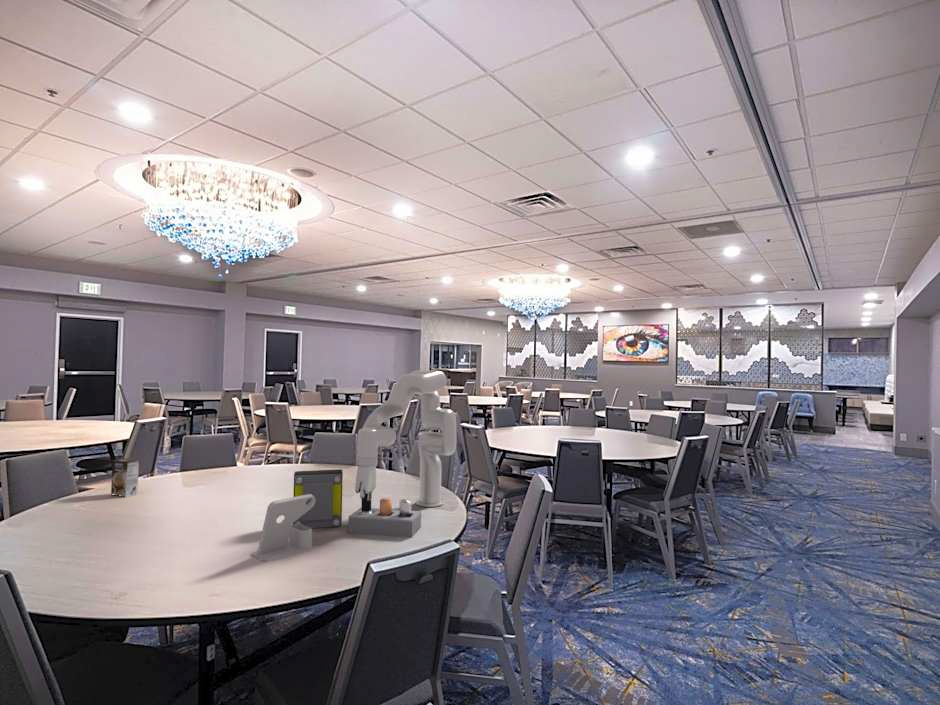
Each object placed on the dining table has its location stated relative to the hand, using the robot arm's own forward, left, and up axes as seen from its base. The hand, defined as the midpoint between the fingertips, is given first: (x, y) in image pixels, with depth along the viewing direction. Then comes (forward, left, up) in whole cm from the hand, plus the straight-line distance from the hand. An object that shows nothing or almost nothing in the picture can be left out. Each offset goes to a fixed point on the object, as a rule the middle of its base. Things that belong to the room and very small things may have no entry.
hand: (366, 510), depth 195 cm
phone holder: (+28, -17, -7) cm, 34 cm away
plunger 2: (0, +15, -1) cm, 15 cm away
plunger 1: (0, 0, -5) cm, 5 cm away
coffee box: (-23, -125, -7) cm, 128 cm away
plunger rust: (0, +8, -1) cm, 8 cm away
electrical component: (0, -19, -7) cm, 21 cm away
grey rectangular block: (0, +8, -7) cm, 10 cm away
